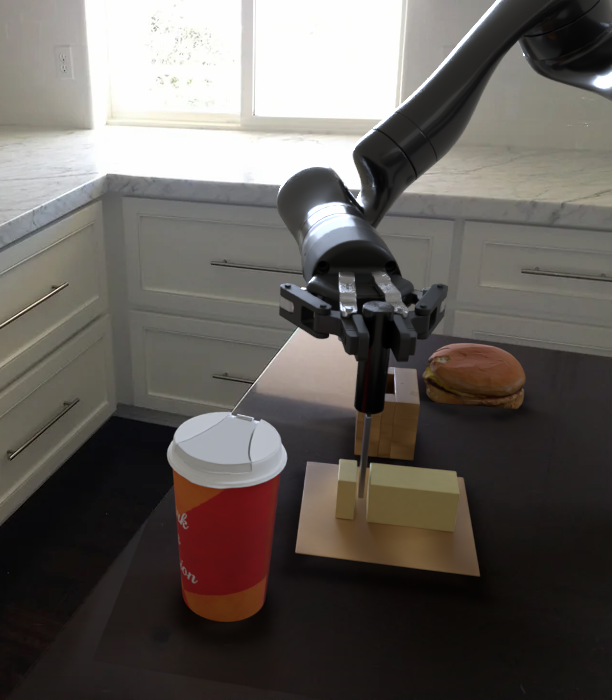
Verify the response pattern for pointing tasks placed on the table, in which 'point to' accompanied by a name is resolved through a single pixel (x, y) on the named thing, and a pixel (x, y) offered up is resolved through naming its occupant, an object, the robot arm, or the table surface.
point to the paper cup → (225, 511)
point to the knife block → (393, 418)
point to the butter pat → (346, 489)
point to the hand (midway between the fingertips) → (384, 349)
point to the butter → (412, 497)
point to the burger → (475, 376)
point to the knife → (373, 373)
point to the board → (379, 531)
